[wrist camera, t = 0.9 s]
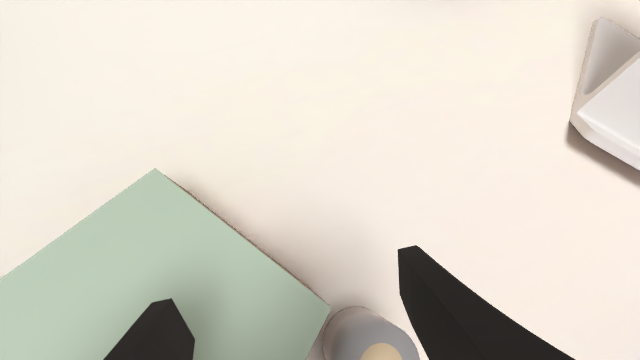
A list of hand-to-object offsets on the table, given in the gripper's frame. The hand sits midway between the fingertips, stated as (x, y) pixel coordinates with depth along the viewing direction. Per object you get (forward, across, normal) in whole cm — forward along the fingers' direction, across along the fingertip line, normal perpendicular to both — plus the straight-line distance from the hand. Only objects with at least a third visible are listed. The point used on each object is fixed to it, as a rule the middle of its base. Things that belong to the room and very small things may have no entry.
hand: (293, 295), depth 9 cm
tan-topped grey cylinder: (+7, -2, +14) cm, 16 cm away
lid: (+3, +6, +4) cm, 8 cm away
